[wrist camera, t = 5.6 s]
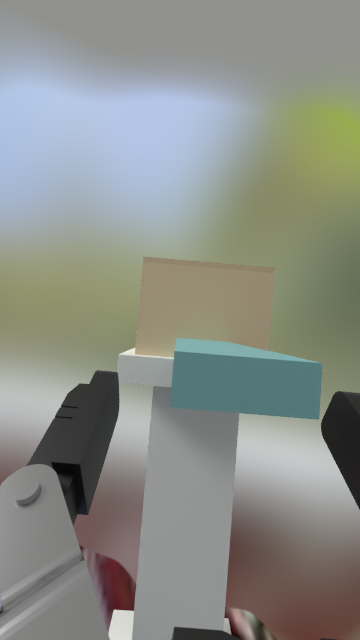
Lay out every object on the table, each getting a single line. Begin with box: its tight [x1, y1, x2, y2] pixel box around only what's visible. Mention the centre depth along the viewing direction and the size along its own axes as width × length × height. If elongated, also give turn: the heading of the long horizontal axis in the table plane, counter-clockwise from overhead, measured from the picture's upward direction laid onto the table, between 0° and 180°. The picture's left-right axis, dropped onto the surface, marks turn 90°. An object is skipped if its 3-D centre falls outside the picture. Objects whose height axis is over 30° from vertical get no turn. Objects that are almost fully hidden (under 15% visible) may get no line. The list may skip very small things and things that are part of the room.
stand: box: [108, 348, 239, 640], centre depth 25 cm, size 13×13×32 cm
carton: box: [135, 257, 322, 419], centre depth 19 cm, size 23×10×7 cm, turn 1°
